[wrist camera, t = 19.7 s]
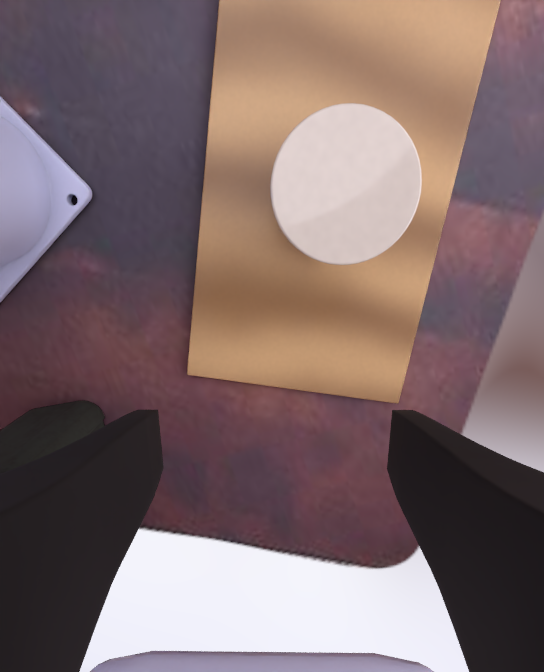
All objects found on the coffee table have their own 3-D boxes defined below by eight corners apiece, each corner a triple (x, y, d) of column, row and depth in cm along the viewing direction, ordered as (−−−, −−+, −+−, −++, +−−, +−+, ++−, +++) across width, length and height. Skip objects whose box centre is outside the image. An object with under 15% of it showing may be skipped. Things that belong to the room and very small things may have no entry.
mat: (395, 400, 21) (398, 404, 20) (188, 371, 21) (186, 375, 20) (500, -19, 16) (508, -27, 15) (226, -65, 15) (225, -75, 15)
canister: (250, 200, 18) (238, 184, 12) (331, 119, 17) (356, 63, 11) (319, 279, 19) (337, 294, 13) (400, 206, 18) (453, 191, 12)
